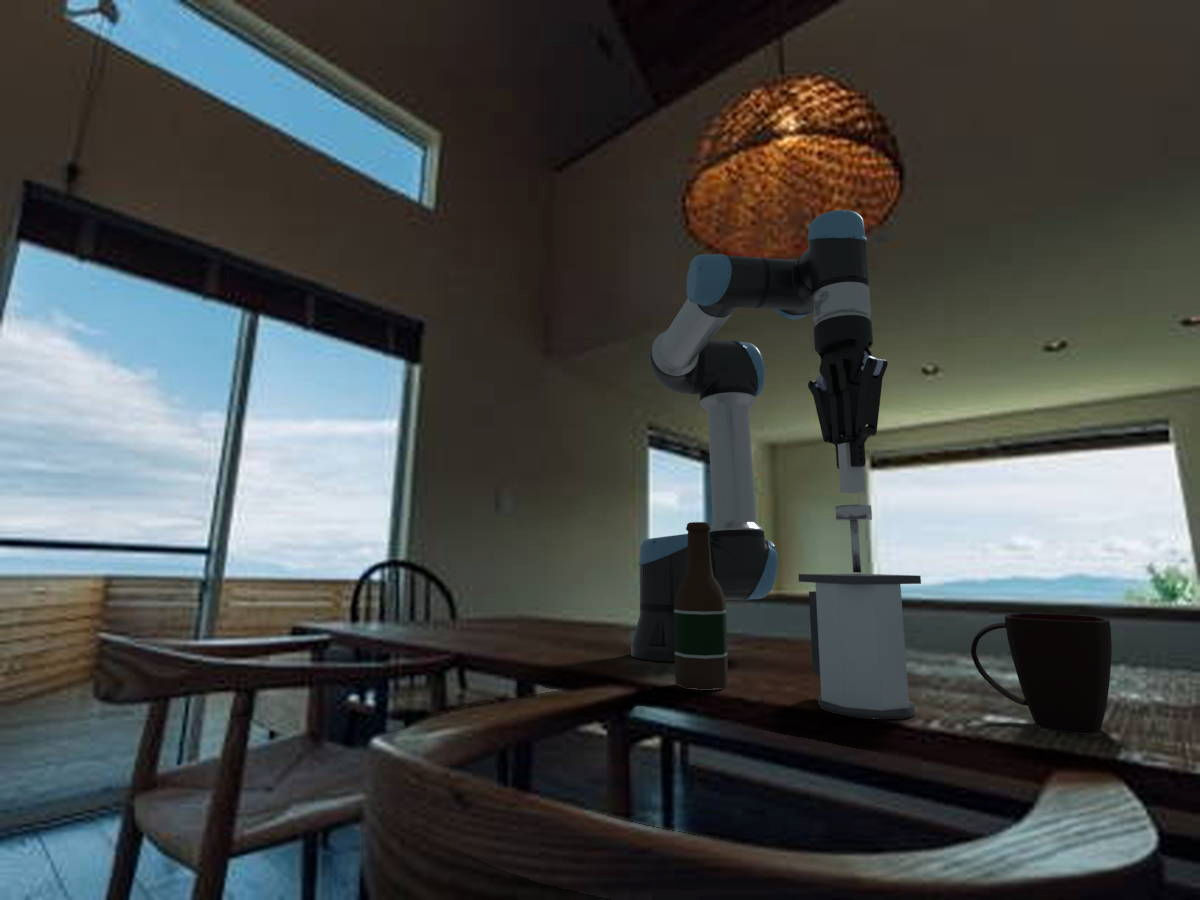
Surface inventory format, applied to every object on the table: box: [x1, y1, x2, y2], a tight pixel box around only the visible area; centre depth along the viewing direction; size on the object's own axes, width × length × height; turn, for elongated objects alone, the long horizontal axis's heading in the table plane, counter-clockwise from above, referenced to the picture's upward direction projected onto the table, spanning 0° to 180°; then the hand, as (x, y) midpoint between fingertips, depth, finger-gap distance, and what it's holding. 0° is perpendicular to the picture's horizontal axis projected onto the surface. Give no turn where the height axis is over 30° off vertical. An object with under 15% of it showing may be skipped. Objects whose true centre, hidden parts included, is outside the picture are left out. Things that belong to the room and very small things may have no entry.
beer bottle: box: [674, 521, 729, 689], centre depth 97 cm, size 8×8×24 cm
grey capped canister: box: [798, 573, 922, 720], centre depth 84 cm, size 14×11×16 cm
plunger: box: [834, 504, 873, 574], centre depth 85 cm, size 4×4×9 cm
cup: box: [970, 612, 1113, 735], centre depth 75 cm, size 10×14×12 cm
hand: (852, 492), depth 86 cm, fingers closed
